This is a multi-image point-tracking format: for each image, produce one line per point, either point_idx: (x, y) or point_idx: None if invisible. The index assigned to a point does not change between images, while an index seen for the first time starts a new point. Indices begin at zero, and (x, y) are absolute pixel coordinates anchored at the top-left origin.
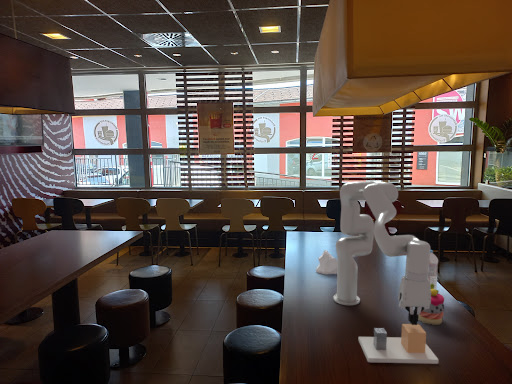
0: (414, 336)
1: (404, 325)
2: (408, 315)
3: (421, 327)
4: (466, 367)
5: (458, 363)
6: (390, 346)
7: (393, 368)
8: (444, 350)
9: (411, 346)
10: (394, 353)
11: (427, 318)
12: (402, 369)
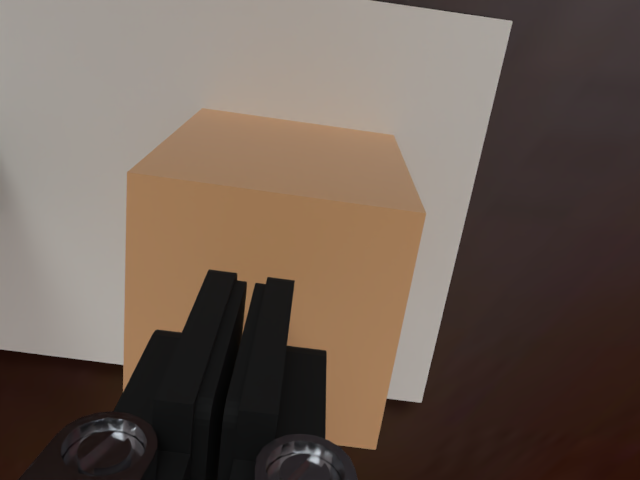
0: None
1: (147, 228)
2: (133, 375)
3: (400, 315)
4: (608, 438)
5: (588, 391)
6: (55, 162)
7: (18, 392)
8: (625, 210)
9: None
10: (57, 281)
11: None
12: (86, 409)
